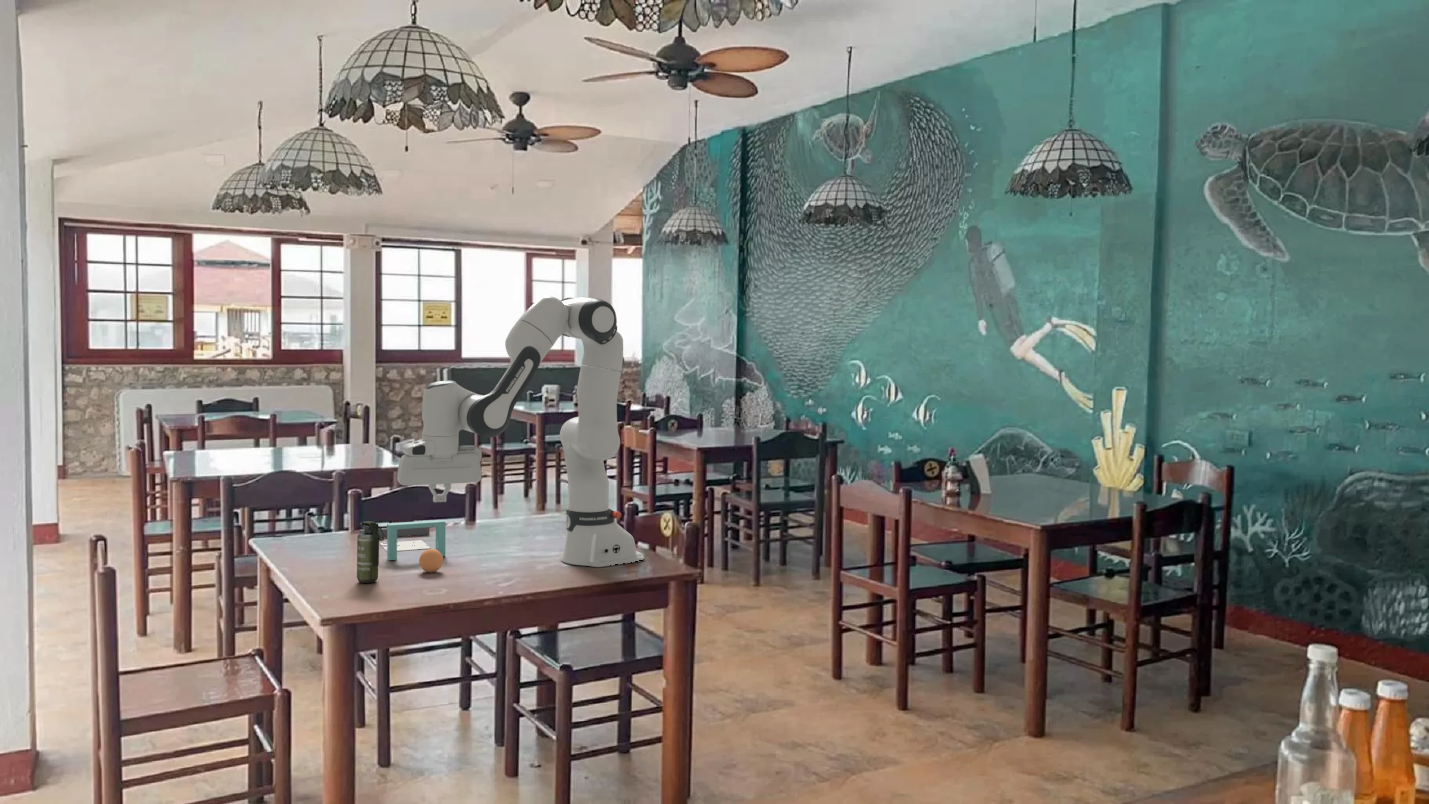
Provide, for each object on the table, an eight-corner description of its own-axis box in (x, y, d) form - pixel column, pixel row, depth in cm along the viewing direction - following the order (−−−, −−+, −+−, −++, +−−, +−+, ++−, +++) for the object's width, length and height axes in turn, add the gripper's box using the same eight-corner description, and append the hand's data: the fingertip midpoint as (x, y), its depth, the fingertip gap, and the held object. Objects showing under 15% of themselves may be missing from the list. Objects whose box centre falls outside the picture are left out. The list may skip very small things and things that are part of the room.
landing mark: (421, 540, 320) (421, 539, 320) (430, 548, 309) (430, 548, 309) (379, 543, 314) (379, 542, 314) (387, 552, 304) (387, 551, 304)
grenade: (352, 582, 269) (352, 522, 268) (369, 578, 274) (369, 519, 273) (370, 586, 266) (370, 525, 265) (387, 581, 271) (387, 521, 270)
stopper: (427, 533, 331) (427, 525, 330) (429, 534, 329) (429, 526, 329) (359, 538, 321) (359, 529, 321) (360, 539, 320) (360, 530, 320)
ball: (440, 568, 286) (440, 545, 285) (445, 573, 280) (445, 550, 280) (416, 570, 283) (416, 547, 282) (421, 575, 278) (421, 552, 277)
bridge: (387, 558, 295) (387, 523, 295) (442, 554, 302) (442, 519, 302) (389, 561, 293) (389, 525, 292) (445, 556, 300) (445, 521, 299)
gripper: (478, 443, 278) (477, 497, 279) (396, 446, 268) (395, 501, 269) (485, 446, 272) (484, 501, 273) (401, 449, 263) (400, 505, 264)
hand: (439, 501), depth 271 cm, fingers closed
